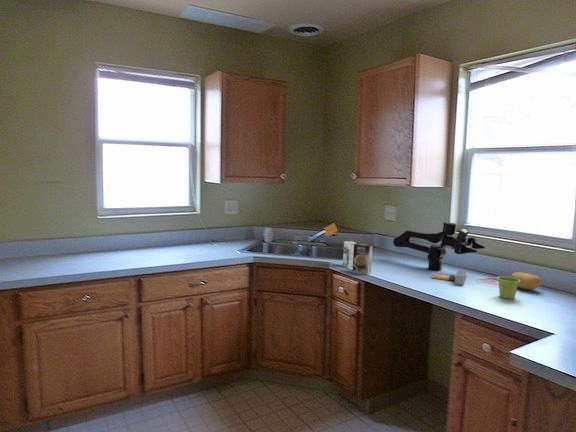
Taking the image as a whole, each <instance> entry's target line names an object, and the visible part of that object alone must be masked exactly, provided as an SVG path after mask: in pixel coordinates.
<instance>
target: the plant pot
mask: <svg viewBox="0 0 576 432" xmlns="http://www.w3.org/2000/svg"><path fill="white" fill-rule="evenodd" d="M496 279H497V282H498V289H499V297H501V298H503V299H510V300H512V299H513V300H514V299H515V298H516V294H517V289H518V287H517V286H518V284H519V282H520V280H519V279H516V278H512V277H511V276H497V278H496Z"/></svg>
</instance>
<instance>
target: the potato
mask: <svg viewBox="0 0 576 432" xmlns="http://www.w3.org/2000/svg"><path fill="white" fill-rule="evenodd" d="M510 277H512V278H516V279H519V280H520V282H519V284H518V286H517V288H520V289H522V290H525V291H532V290H536V289H537V288H538V287H540V286H541V283H542V279H541V278H540V276H538V275H536V274H535V275H534V274H531V273H527V272H520V271H519V272H518V271H517V272H513V273H512V274H511V275H510Z"/></svg>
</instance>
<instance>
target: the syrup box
mask: <svg viewBox="0 0 576 432" xmlns="http://www.w3.org/2000/svg"><path fill="white" fill-rule="evenodd" d="M356 243H357V242H354V241H352V240H346V241H343V254H342V255H343V256H342V266H344V267H346V268H353V253H354V244H356Z"/></svg>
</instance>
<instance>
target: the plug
mask: <svg viewBox="0 0 576 432" xmlns="http://www.w3.org/2000/svg"><path fill="white" fill-rule="evenodd" d="M431 275H432V277H431V278H432V279H437V280H443V281H450V282H451V281H452V282H455V276H456V274H450V276H449V275H443V274H436V273H432V274H431Z"/></svg>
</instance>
